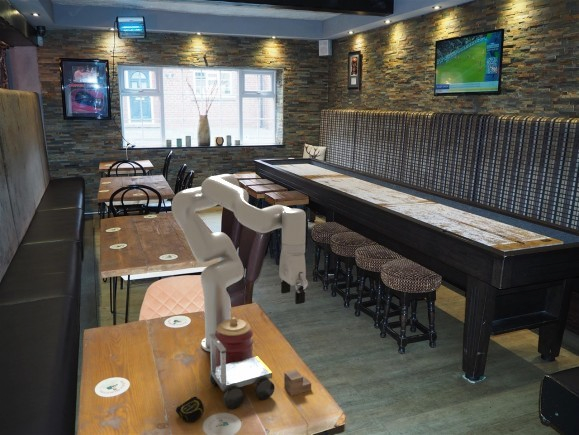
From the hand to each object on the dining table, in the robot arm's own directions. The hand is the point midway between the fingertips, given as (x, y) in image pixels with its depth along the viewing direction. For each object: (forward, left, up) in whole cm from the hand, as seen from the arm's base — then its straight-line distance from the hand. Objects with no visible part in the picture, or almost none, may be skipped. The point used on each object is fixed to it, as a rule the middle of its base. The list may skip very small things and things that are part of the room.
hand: (292, 297), depth 157 cm
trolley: (+4, -20, -26) cm, 33 cm away
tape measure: (+6, -36, -26) cm, 45 cm away
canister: (-12, -16, -26) cm, 33 cm away
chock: (+10, -3, -26) cm, 29 cm away
